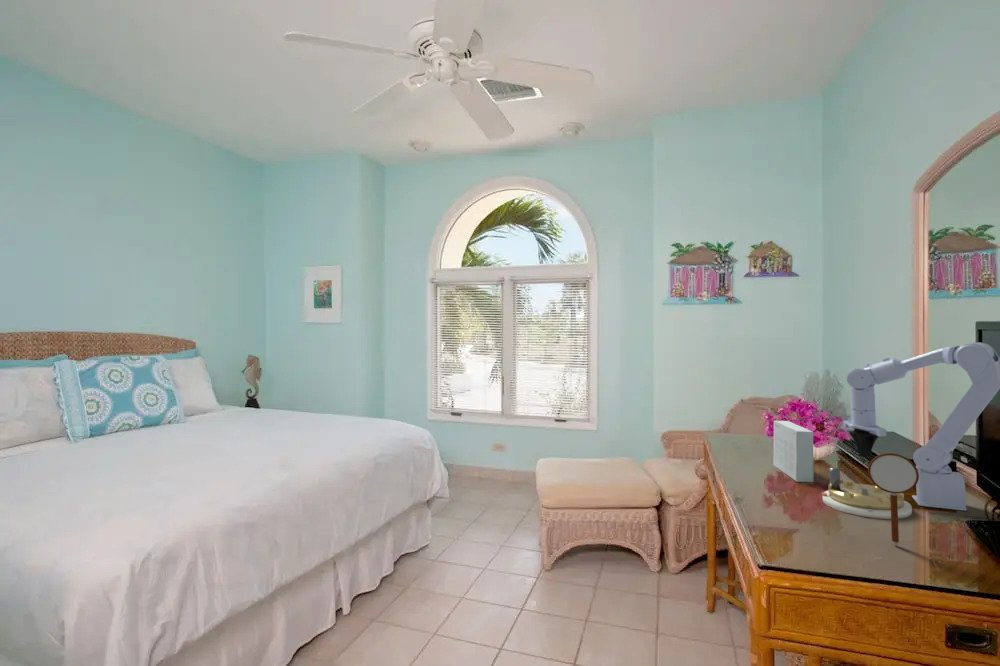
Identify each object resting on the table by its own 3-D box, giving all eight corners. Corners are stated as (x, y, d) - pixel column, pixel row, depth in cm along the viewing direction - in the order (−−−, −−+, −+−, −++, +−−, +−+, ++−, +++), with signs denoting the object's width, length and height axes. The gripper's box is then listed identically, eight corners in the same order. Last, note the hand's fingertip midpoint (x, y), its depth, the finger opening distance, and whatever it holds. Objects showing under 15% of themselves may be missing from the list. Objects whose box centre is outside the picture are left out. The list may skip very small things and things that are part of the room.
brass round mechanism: (907, 514, 119) (906, 483, 119) (828, 503, 128) (827, 475, 128) (900, 495, 132) (899, 468, 132) (829, 487, 141) (828, 461, 141)
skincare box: (815, 483, 151) (814, 431, 151) (796, 482, 152) (794, 431, 152) (789, 465, 171) (788, 419, 172) (772, 464, 173) (771, 419, 173)
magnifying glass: (920, 548, 104) (917, 454, 104) (922, 551, 103) (918, 456, 103) (870, 540, 109) (866, 450, 109) (870, 543, 107) (867, 452, 108)
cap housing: (903, 499, 134) (902, 492, 134) (920, 523, 117) (920, 514, 117) (820, 490, 143) (819, 483, 143) (825, 511, 127) (825, 503, 127)
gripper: (832, 406, 150) (834, 451, 150) (867, 413, 135) (869, 463, 135) (855, 405, 150) (857, 450, 150) (893, 413, 135) (895, 462, 135)
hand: (864, 456), depth 142 cm, fingers closed
